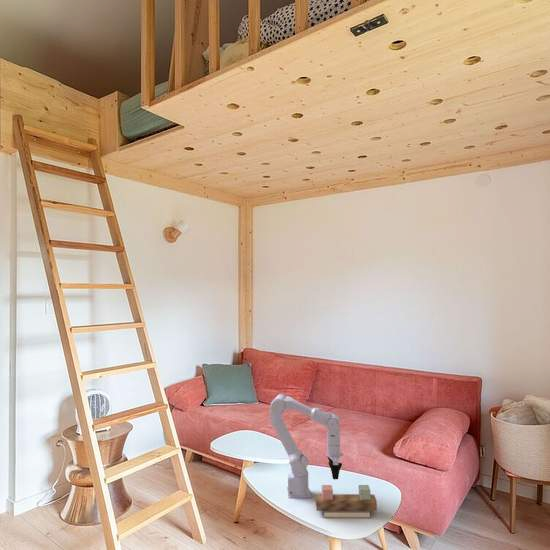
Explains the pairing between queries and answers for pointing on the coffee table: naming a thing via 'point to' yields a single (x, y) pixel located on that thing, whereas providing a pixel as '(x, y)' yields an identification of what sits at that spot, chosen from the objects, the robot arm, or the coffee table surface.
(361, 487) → the pale green cube
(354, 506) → the brown wooden bar
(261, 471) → the coffee table surface
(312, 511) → the coffee table surface
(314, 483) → the coffee table surface
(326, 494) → the pink cube
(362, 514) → the block
